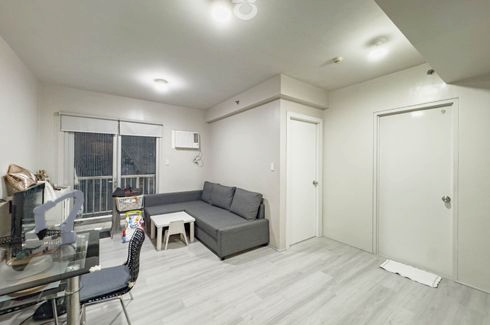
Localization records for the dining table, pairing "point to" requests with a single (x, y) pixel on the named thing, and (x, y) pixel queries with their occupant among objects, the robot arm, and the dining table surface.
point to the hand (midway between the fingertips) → (42, 239)
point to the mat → (45, 249)
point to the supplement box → (32, 236)
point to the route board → (34, 253)
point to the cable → (41, 240)
